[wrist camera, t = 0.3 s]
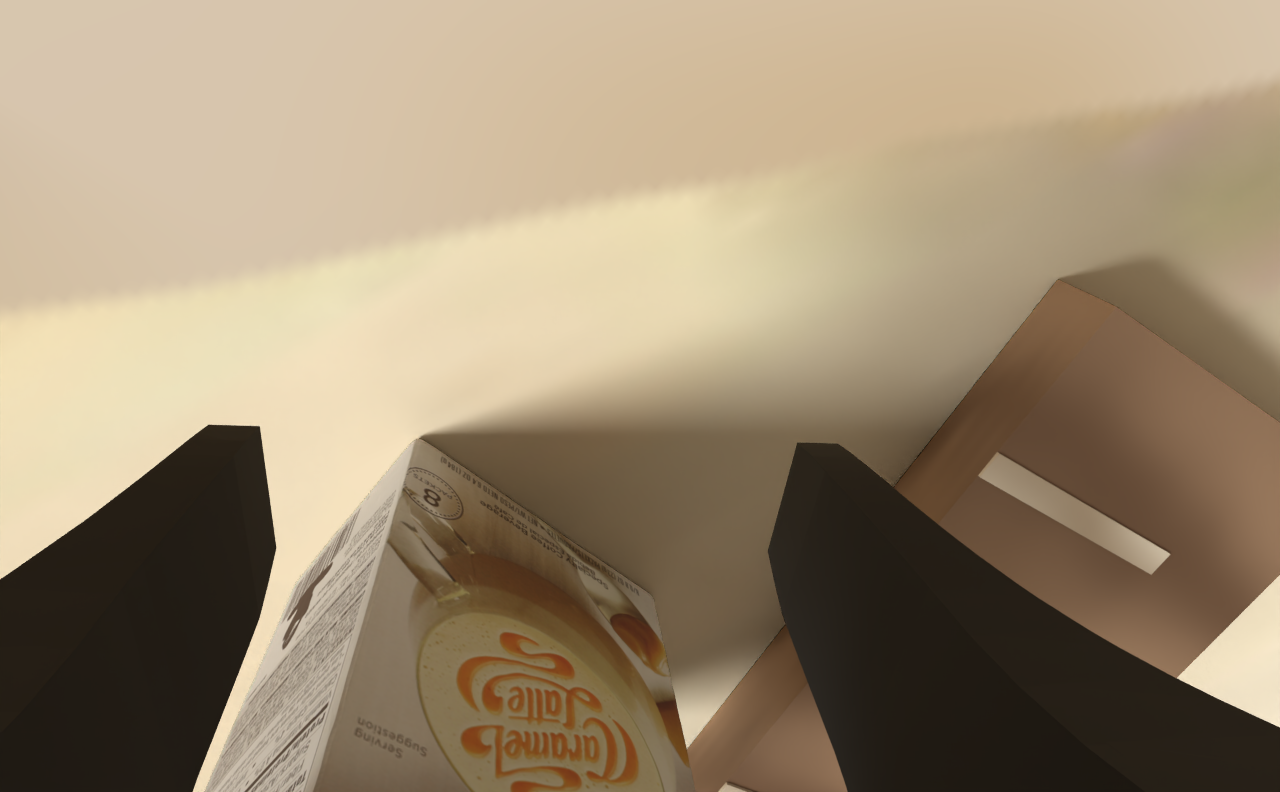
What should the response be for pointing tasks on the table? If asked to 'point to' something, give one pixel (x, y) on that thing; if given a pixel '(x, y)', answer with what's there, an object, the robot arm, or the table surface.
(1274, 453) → the walnut board
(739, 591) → the table surface
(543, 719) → the coffee box
